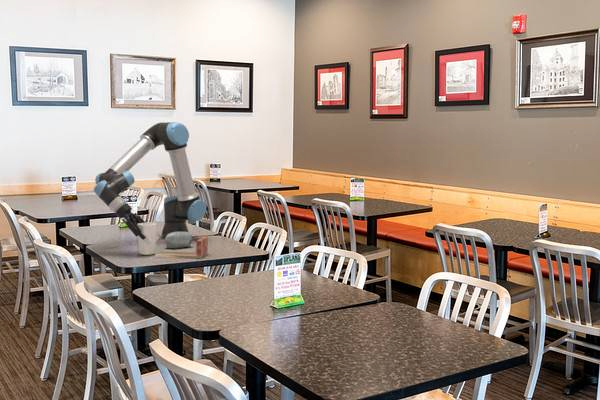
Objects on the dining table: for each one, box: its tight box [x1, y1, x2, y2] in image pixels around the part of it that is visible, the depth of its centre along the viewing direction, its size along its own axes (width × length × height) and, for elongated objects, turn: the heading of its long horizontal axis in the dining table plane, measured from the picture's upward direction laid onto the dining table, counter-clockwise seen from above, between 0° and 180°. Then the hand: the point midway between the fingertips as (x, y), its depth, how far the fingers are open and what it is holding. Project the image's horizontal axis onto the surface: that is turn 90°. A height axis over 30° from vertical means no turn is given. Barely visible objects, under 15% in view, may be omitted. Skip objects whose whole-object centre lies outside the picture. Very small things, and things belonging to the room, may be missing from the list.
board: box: [154, 236, 209, 260], centre depth 309 cm, size 12×22×8 cm, turn 82°
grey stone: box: [164, 232, 193, 250], centre depth 330 cm, size 14×10×10 cm
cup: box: [137, 222, 157, 256], centre depth 311 cm, size 7×7×15 cm
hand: (153, 241), depth 311 cm, fingers closed on cup, 9 cm apart
